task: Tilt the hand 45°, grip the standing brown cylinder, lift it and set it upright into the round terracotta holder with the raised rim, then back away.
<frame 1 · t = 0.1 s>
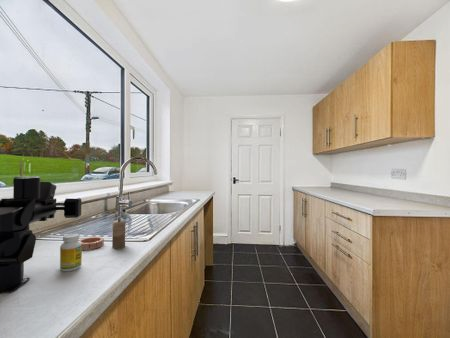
hand: (62, 204, 84), 17 cm above the worktop, tool horizontal, fingers open, 9 cm apart
brown cylinder: (118, 246, 90), on the worktop
supplement bottle: (70, 268, 70), on the worktop
holder: (90, 245, 90), on the worktop
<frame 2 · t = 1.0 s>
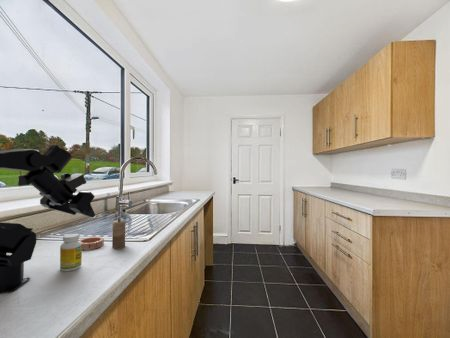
hand: (84, 215, 80), 14 cm above the worktop, tool tilted 45°, fingers open, 9 cm apart
nothing on the worktop moved.
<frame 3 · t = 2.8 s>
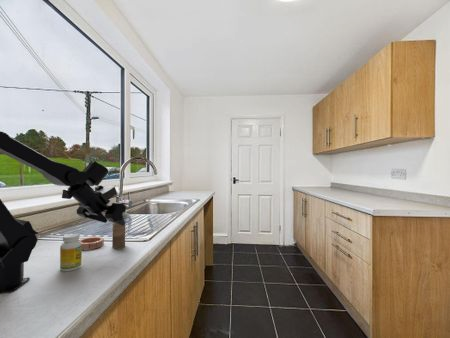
hand: (115, 223, 88), 9 cm above the worktop, tool tilted 45°, fingers open, 9 cm apart
nothing on the worktop moved.
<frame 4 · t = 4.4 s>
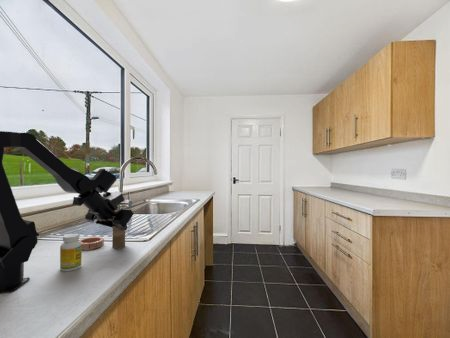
hand: (122, 228, 91), 7 cm above the worktop, tool tilted 45°, fingers closed on brown cylinder, 4 cm apart
brown cylinder: (118, 246, 90), on the worktop, touching gripper
everything else where it was.
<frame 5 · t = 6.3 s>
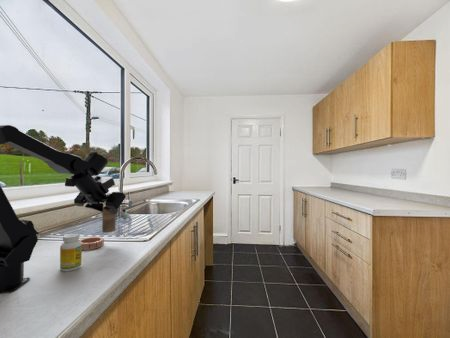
hand: (111, 212, 91), 12 cm above the worktop, tool tilted 45°, fingers closed on brown cylinder, 4 cm apart
brown cylinder: (108, 230, 90), point 6 cm above the worktop, touching gripper
everything else where it was.
when the fingers open (8 cm above the worktop, at t = 8.3 s): brown cylinder drops 1 cm, resting on holder.
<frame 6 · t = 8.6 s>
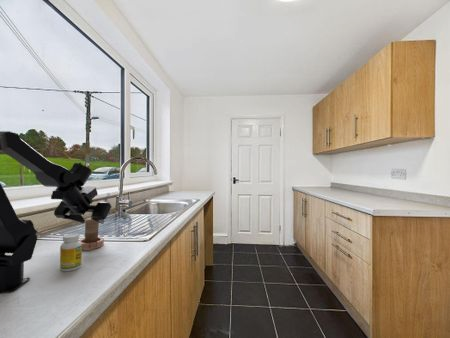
hand: (93, 222, 91), 9 cm above the worktop, tool tilted 45°, fingers open, 8 cm apart
brown cylinder: (91, 244, 90), point 1 cm above the worktop, touching holder
everything else where it was.
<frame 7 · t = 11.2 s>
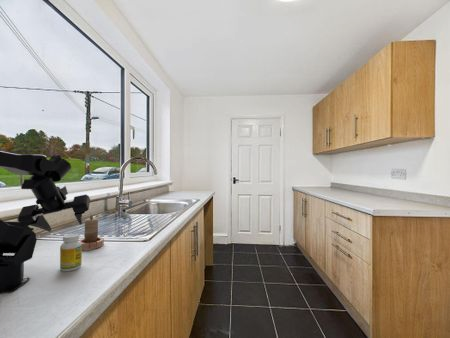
hand: (66, 226, 80), 10 cm above the worktop, tool tilted 35°, fingers open, 9 cm apart
nothing on the worktop moved.
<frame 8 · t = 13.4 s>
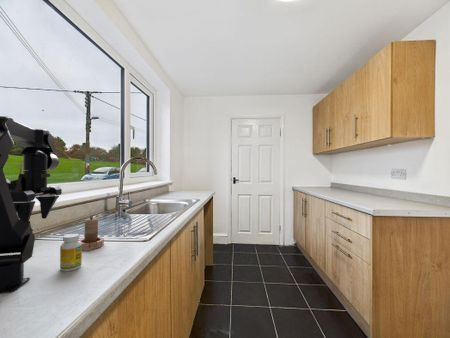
hand: (35, 221, 73), 13 cm above the worktop, tool pointing down, fingers open, 9 cm apart
nothing on the worktop moved.
at the end: brown cylinder 0.1 cm off-centre on the holder, point 0.6 cm above the holder's base; brown cylinder tilted 0°; the gripper is holding nothing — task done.
